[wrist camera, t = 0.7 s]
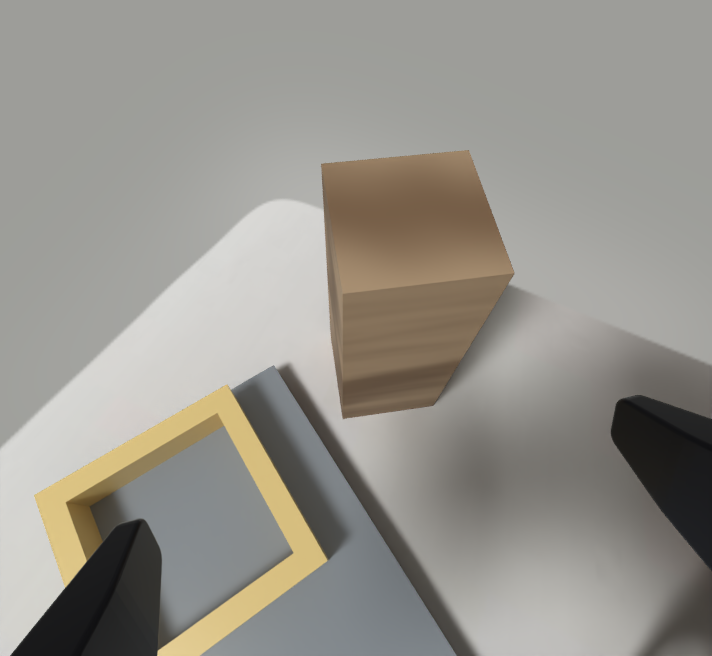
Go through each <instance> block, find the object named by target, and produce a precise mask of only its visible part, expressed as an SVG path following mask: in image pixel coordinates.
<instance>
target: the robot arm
mask: <svg viewBox="0 0 712 656" xmlns="http://www.w3.org/2000/svg"><path fill="white" fill-rule="evenodd" d="M611 436H612V439H613V442H614V443H615V445H616V447H617V448H618V449H619V451H620V452H621V454H622V455H623V457H624V458H625V459H626V461H627V462H628V464H629V465H630V467H631V468H632V470H633V471H634V472H635V474H636V475H637V477H638V478H639V480H640V481H641V482H642V484H643V485H644V487H645V488H646V490H647V491H648V493H649V494H650V495H651V497H652V498H653V500H654V501H655V502H656V504H657V505H658V507H659V508H660V509H661V511H662V512H663V513H664V514H665V516H666V517H667V518H668V519H669V521H670V522H671V523H672V524H673V526H674V527H675V528H676V529H677V530H678V532H679V533H680V534H681V535H682V536H683V538H684V539H685V540H686V541H687V542H688V543H689V545H690V546H691V547H692V548H693V549H694V551H695V552H696V553H697V554H698V555H699V557H700V558H701V559H702V560H703V561H704V563H705V564H706V565H707V566H708V567H709V569H710V570H711V571H712V419H710V418H707V417H704V416H701V415H698V414H695V413H692V412H689V411H686V410H683V409H680V408H677V407H674V406H671V405H669V404H666V403H663V402H660V401H657V400H654V399H651V398H648V397H645V396H642V395H635V396H631V397H627V398H623V399H620V400H619V401H618V402H617V403H616V407H615V412H614V417H613V422H612V427H611ZM161 575H162V554H161V550H160V547H159V545H158V543H157V541H156V539H155V537H154V535H153V533H152V531H151V529H150V527H149V525H148V523H147V522H146V520H144V519H142V518H139V519H134V520H130V521H126V522H122V523H120V524H118V525H117V526H115V527H114V528H113V530H112V531H111V532H110V533H109V535H108V536H107V537H106V538H105V540H104V541H103V542H102V543H101V544H100V546H99V547H98V548H97V549H96V551H95V552H94V553H93V554H92V556H91V557H90V558H89V559H88V560H87V562H86V563H85V564H84V565H83V567H82V568H81V569H80V570H79V572H78V573H77V574H76V575H75V576H74V578H73V579H72V580H71V581H70V583H69V584H68V585H67V586H66V588H65V589H64V590H63V591H62V593H61V594H60V595H59V596H58V597H57V599H56V600H55V601H54V602H53V604H52V605H51V606H50V607H49V609H48V610H47V611H46V612H45V613H44V615H43V616H42V617H41V618H40V620H39V621H38V622H37V623H36V625H35V626H34V627H33V628H32V629H31V631H30V632H29V633H28V634H27V636H26V637H25V638H24V639H23V641H22V642H21V643H20V644H19V645H18V647H17V648H16V649H15V650H14V652H13V653H12V654H11V655H10V656H157V654H158V640H159V618H160V597H161Z"/></svg>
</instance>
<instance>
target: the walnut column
mask: <svg viewBox="0 0 712 656" xmlns="http://www.w3.org/2000/svg"><path fill="white" fill-rule="evenodd" d="M321 167H322V184H323V202H324V222H325V240H326V258H327V276H328V294H329V312H330V331H331V341H332V348H333V355H334V361H335V368H336V375H337V382H338V389H339V396H340V403H341V410H342V417H343V419H345V418H352V417H359V416H366V415H373V414H379V413H386V412H393V411H400V410H407V409H414V408H421V407H427V406H433V405H434V404H435V402H436V400H437V399H438V397H439V395H440V394H441V392H442V391H443V389H444V387H445V386H446V384H447V382H448V381H449V379H450V378H451V376H452V374H453V373H454V371H455V369H456V368H457V366H458V364H459V363H460V361H461V360H462V358H463V356H464V355H465V353H466V351H467V350H468V348H469V347H470V345H471V343H472V342H473V340H474V338H475V337H476V335H477V334H478V332H479V330H480V329H481V327H482V325H483V324H484V322H485V321H486V319H487V317H488V316H489V314H490V312H491V311H492V309H493V308H494V306H495V304H496V303H497V301H498V299H499V298H500V296H501V295H502V293H503V291H504V290H505V288H506V286H507V285H508V283H509V282H510V280H511V278H512V277H513V275H514V271H513V268H512V265H511V262H510V260H509V257H508V254H507V252H506V249H505V246H504V244H503V241H502V238H501V236H500V233H499V230H498V227H497V225H496V222H495V219H494V217H493V214H492V211H491V209H490V206H489V204H488V201H487V198H486V195H485V193H484V190H483V187H482V185H481V182H480V179H479V176H478V174H477V171H476V168H475V166H474V163H473V160H472V158H471V155H470V153H469V150H465V151H454V152H444V153H433V154H422V155H412V156H400V157H389V158H379V159H368V160H357V161H346V162H335V163H324V164H321Z"/></svg>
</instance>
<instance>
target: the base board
mask: <svg viewBox="0 0 712 656" xmlns="http://www.w3.org/2000/svg"><path fill="white" fill-rule="evenodd" d="M34 497H35V500H36V503H37V505H38V508H39V511H40V514H41V517H42V520H43V523H44V526H45V529H46V532H47V535H48V538H49V541H50V544H51V547H52V550H53V553H54V556H55V559H56V562H57V565H58V568H59V571H60V574H61V577H62V580H63V583H64V585H65V588H66V586H67V585H68V584H69V583H70V581H71V580H72V579H73V578H74V576H75V575H76V574H77V573H78V572H79V570H80V569H81V568H82V567H83V565H84V564H85V563H86V562H87V560H88V559H89V558H90V557H91V556H92V554H93V553H94V552H95V551H96V549H97V548H98V547H99V546H100V544H101V543H102V542H103V541H104V540H105V538H106V537H107V536H108V535H109V533H110V532H111V531H112V530H113V528H114V527H115V526H117V525H118V524H120V523H122V522H126V521H130V520H134V519H139V518H142V519H144V520H146V522H147V523H148V525H149V527H150V529H151V531H152V533H153V535H154V537H155V539H156V541H157V543H158V545H159V547H160V550H161V554H162V575H161V597H160V618H159V640H158V654H157V656H457V655H456V654H455V652H454V651H453V649H452V647H451V646H450V644H449V643H448V641H447V639H446V638H445V636H444V635H443V633H442V631H441V630H440V628H439V627H438V625H437V624H436V622H435V620H434V619H433V617H432V616H431V614H430V612H429V611H428V609H427V608H426V606H425V604H424V603H423V601H422V600H421V598H420V597H419V595H418V593H417V592H416V590H415V589H414V587H413V585H412V584H411V582H410V581H409V579H408V578H407V576H406V574H405V573H404V571H403V570H402V568H401V566H400V565H399V563H398V562H397V560H396V558H395V557H394V555H393V554H392V552H391V551H390V549H389V547H388V546H387V544H386V543H385V541H384V539H383V538H382V536H381V535H380V533H379V531H378V530H377V528H376V527H375V525H374V524H373V522H372V520H371V519H370V517H369V516H368V514H367V512H366V511H365V509H364V508H363V506H362V504H361V503H360V501H359V500H358V498H357V497H356V495H355V493H354V492H353V490H352V489H351V487H350V485H349V484H348V482H347V481H346V479H345V478H344V476H343V474H342V473H341V471H340V470H339V468H338V466H337V465H336V463H335V462H334V460H333V458H332V457H331V455H330V454H329V452H328V451H327V449H326V447H325V446H324V444H323V443H322V441H321V439H320V438H319V436H318V435H317V433H316V431H315V430H314V428H313V427H312V425H311V424H310V422H309V420H308V419H307V417H306V416H305V414H304V412H303V411H302V409H301V408H300V406H299V404H298V403H297V401H296V400H295V398H294V397H293V395H292V393H291V392H290V390H289V389H288V387H287V385H286V384H285V382H284V381H283V379H282V378H281V376H280V374H279V373H278V371H277V370H276V368H275V366H274V365H273V366H271V367H270V368H268V369H266V370H265V371H263V372H261V373H259V374H258V375H256V376H254V377H253V378H251V379H249V380H247V381H246V382H244V383H242V384H240V385H239V386H237V387H235V388H234V389H232V390H231V389H230V388H229V386H228V385H225V386H223V387H222V388H220V389H218V390H216V391H215V392H213V393H211V394H209V395H208V396H206V397H204V398H202V399H201V400H199V401H197V402H196V403H194V404H192V405H190V406H189V407H187V408H185V409H183V410H182V411H180V412H178V413H176V414H175V415H173V416H171V417H169V418H168V419H166V420H164V421H162V422H161V423H159V424H157V425H156V426H154V427H152V428H150V429H149V430H147V431H145V432H143V433H142V434H140V435H138V436H136V437H135V438H133V439H131V440H129V441H128V442H126V443H124V444H122V445H121V446H119V447H117V448H115V449H114V450H112V451H110V452H109V453H107V454H105V455H103V456H102V457H100V458H98V459H96V460H95V461H93V462H91V463H89V464H88V465H86V466H84V467H82V468H81V469H79V470H77V471H75V472H74V473H72V474H70V475H68V476H67V477H65V478H63V479H62V480H60V481H58V482H56V483H55V484H53V485H51V486H49V487H48V488H46V489H44V490H42V491H41V492H39V493H37V494H35V495H34Z"/></svg>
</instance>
